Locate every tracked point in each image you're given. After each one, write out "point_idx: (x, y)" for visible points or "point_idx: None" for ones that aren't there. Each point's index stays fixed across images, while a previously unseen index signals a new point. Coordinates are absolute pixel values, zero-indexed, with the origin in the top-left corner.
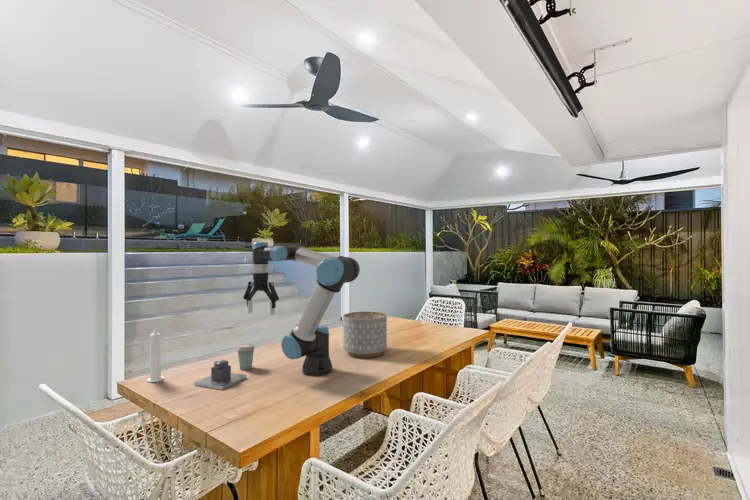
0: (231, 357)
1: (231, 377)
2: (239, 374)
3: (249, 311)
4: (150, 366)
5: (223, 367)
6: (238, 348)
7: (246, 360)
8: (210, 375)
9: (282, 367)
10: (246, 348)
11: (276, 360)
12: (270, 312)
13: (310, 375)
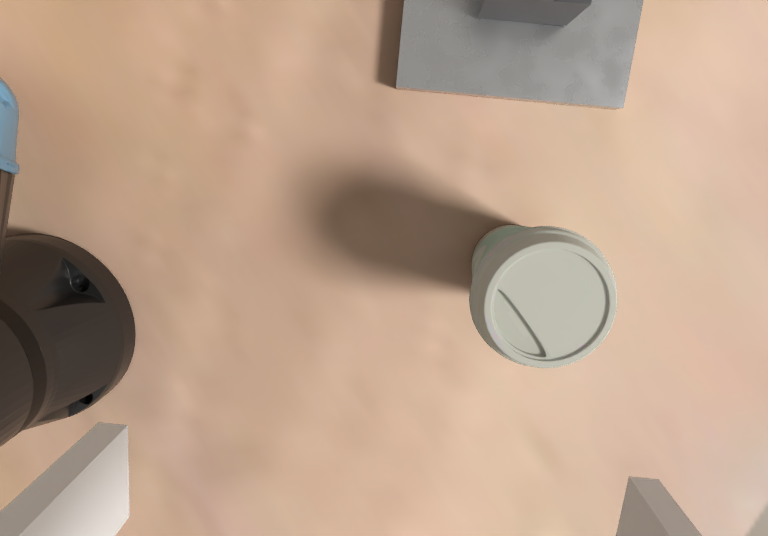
0: (735, 439)
1: (467, 13)
2: (449, 85)
3: (643, 515)
4: None
5: None
6: (585, 244)
7: (493, 238)
8: (639, 8)
9: (289, 336)
10: (506, 251)
11: (401, 449)
12: (88, 454)
13: (35, 234)
